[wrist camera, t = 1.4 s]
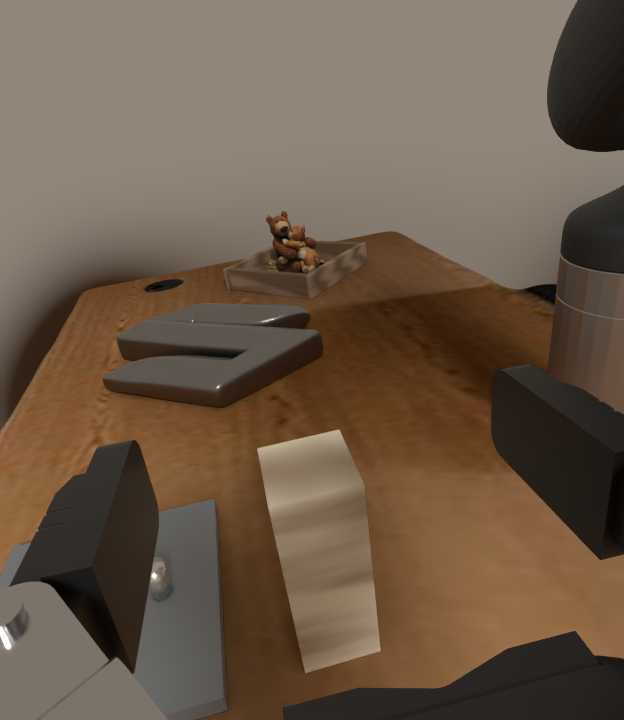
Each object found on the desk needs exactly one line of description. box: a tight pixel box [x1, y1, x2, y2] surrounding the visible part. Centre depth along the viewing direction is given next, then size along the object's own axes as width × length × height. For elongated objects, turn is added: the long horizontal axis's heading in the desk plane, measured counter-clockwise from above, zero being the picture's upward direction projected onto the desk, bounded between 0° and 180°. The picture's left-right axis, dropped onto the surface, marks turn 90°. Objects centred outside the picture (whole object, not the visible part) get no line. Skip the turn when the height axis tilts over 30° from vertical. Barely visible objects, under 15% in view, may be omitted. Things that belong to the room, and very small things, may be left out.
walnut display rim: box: [223, 241, 367, 299], centre depth 95 cm, size 20×19×4 cm
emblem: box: [103, 303, 323, 407], centre depth 66 cm, size 28×5×28 cm
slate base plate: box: [0, 498, 228, 720], centre depth 32 cm, size 16×16×4 cm
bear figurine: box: [266, 211, 325, 274], centre depth 93 cm, size 14×15×12 cm
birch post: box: [257, 430, 381, 673], centre depth 28 cm, size 5×5×13 cm
